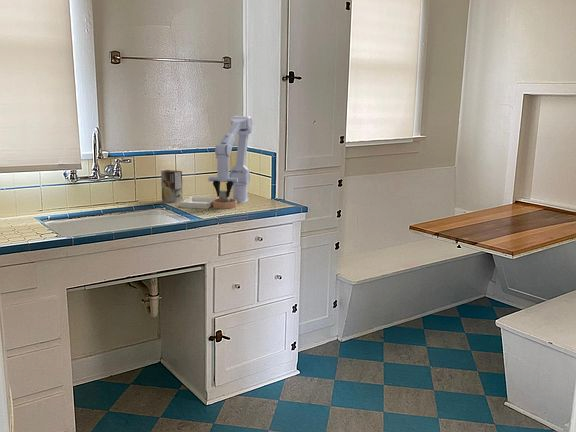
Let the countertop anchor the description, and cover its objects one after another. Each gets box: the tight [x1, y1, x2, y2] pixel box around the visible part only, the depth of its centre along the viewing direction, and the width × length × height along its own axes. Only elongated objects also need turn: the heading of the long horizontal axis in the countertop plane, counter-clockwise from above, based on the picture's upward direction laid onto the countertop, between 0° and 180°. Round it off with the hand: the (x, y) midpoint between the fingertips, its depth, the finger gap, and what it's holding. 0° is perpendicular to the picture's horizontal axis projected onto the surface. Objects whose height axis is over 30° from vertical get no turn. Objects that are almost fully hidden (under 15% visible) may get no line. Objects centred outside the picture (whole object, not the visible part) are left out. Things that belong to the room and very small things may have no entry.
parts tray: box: [179, 195, 219, 210], centre depth 307 cm, size 18×14×3 cm
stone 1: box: [218, 190, 229, 199], centre depth 300 cm, size 4×4×4 cm
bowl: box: [211, 198, 238, 210], centre depth 304 cm, size 12×12×4 cm
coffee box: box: [160, 169, 184, 203], centre depth 314 cm, size 9×6×16 cm
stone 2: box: [222, 197, 231, 203], centre depth 306 cm, size 4×4×4 cm
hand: (223, 196), depth 301 cm, fingers closed on stone 1, 4 cm apart
